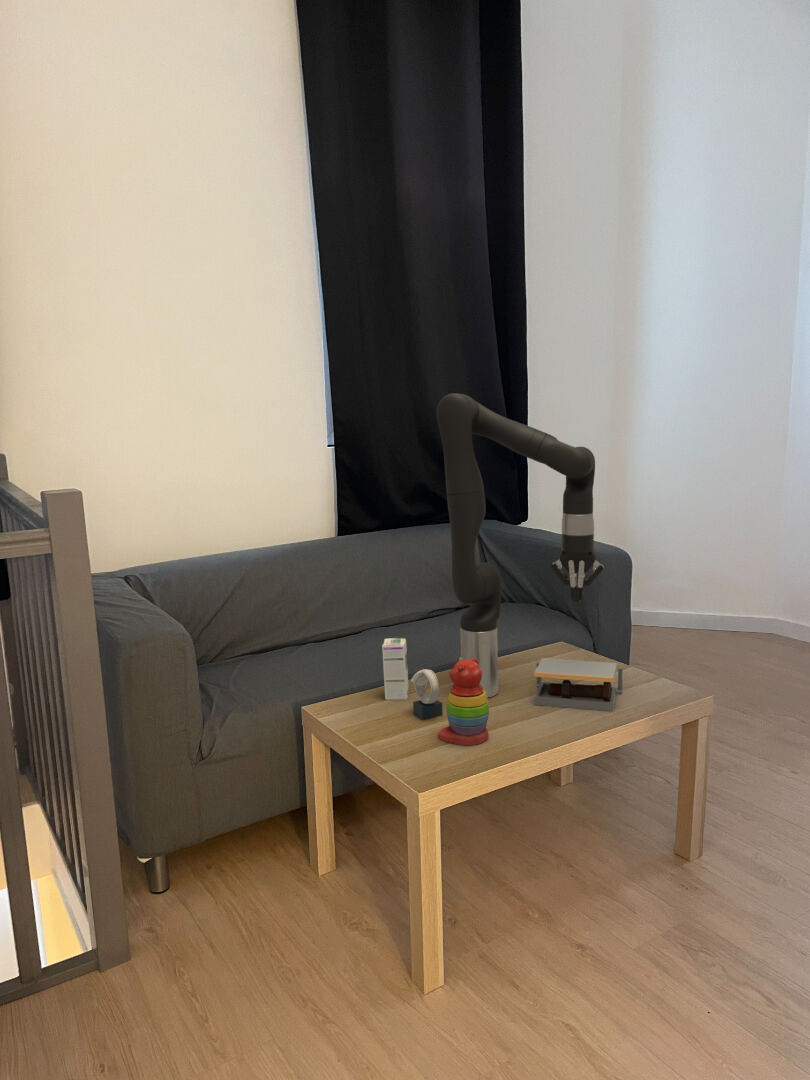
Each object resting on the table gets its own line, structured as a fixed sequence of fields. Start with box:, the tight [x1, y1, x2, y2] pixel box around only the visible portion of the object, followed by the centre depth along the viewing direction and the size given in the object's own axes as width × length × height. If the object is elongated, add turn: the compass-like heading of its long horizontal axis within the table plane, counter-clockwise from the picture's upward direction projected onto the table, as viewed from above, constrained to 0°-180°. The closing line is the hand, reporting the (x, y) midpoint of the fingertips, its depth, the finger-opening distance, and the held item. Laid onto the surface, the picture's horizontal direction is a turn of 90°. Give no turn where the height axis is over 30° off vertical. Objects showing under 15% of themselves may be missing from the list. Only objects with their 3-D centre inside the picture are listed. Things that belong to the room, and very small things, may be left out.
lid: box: [533, 657, 618, 683], centre depth 204 cm, size 19×14×1 cm
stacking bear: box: [437, 658, 490, 746], centre depth 183 cm, size 11×10×18 cm
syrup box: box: [381, 637, 410, 701], centre depth 209 cm, size 6×6×14 cm
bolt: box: [547, 679, 612, 702], centre depth 202 cm, size 6×5×15 cm
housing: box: [533, 661, 623, 712], centre depth 205 cm, size 21×15×6 cm
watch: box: [410, 668, 443, 721], centre depth 197 cm, size 6×8×11 cm
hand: (577, 601), depth 201 cm, fingers closed
